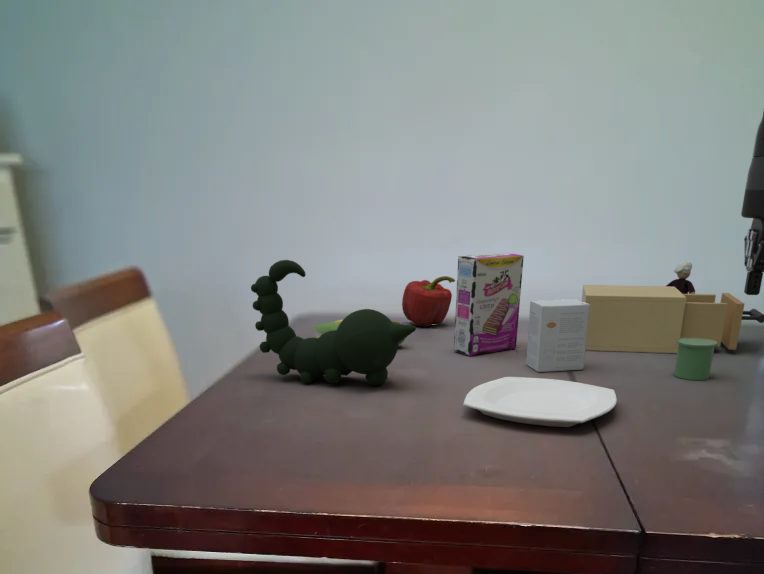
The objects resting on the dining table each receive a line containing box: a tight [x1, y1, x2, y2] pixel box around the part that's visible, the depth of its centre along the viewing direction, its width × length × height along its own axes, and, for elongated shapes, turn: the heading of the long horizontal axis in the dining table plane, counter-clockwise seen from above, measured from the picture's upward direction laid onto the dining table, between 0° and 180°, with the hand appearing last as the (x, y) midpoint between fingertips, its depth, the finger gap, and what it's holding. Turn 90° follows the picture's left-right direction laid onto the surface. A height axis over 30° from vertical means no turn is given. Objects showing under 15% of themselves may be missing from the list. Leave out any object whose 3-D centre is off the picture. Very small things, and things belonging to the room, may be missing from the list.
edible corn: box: [313, 319, 408, 346], centre depth 139 cm, size 5×20×5 cm, turn 61°
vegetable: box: [401, 275, 456, 327], centre depth 155 cm, size 11×10×10 cm
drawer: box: [680, 292, 764, 350], centre depth 134 cm, size 20×12×8 cm, turn 78°
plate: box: [463, 376, 618, 428], centre depth 99 cm, size 19×19×2 cm
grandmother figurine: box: [665, 260, 696, 294], centre depth 153 cm, size 8×4×13 cm, turn 46°
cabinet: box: [581, 284, 686, 354], centre depth 136 cm, size 17×14×10 cm
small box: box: [525, 298, 590, 373], centre depth 120 cm, size 8×6×10 cm
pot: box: [673, 338, 718, 381], centre depth 115 cm, size 6×6×5 cm
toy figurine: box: [250, 259, 417, 387], centre depth 111 cm, size 9×19×25 cm
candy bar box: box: [453, 252, 525, 357], centre depth 130 cm, size 11×5×16 cm, turn 123°
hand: (751, 294), depth 130 cm, fingers closed
